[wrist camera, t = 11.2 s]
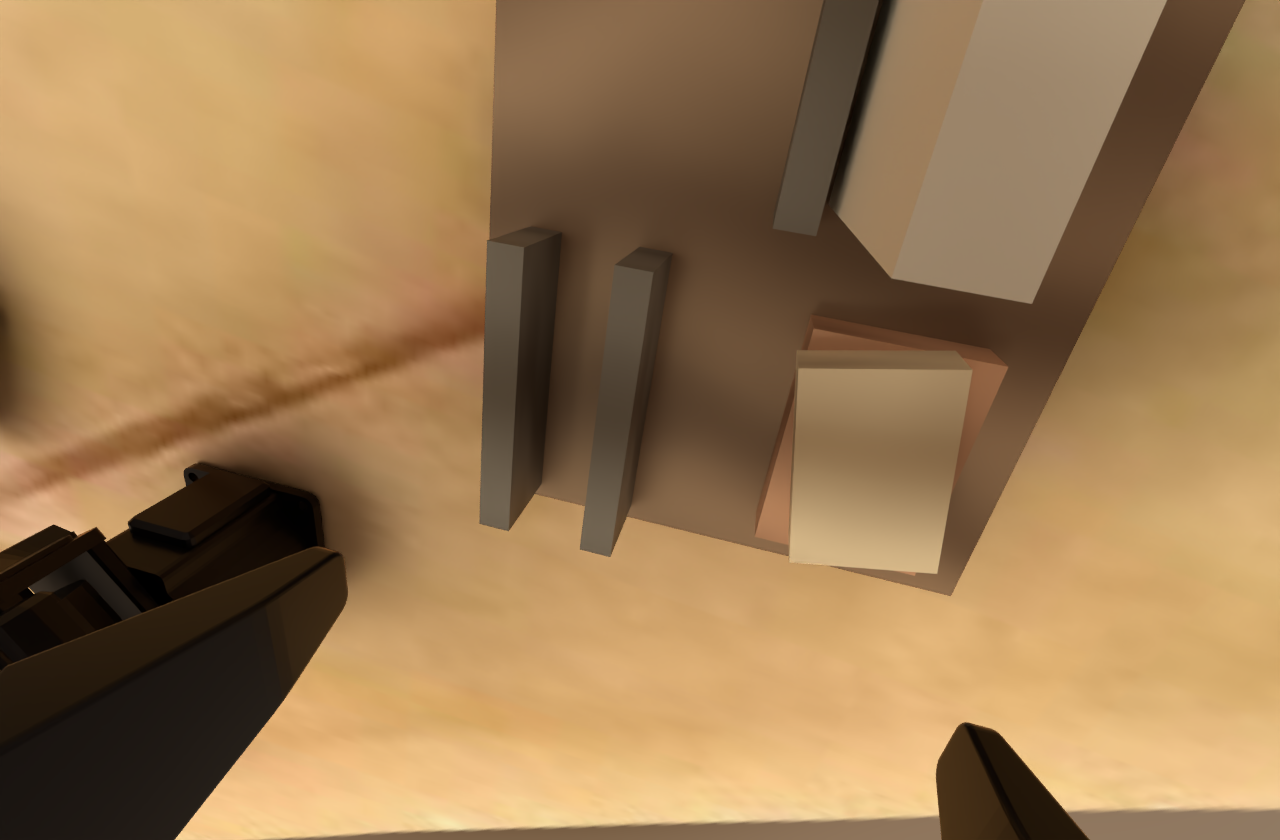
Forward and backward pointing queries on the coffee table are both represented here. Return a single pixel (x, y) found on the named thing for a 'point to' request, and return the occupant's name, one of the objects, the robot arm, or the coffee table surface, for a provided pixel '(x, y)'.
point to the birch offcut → (874, 456)
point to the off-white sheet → (983, 133)
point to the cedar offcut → (863, 337)
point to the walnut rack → (740, 255)
